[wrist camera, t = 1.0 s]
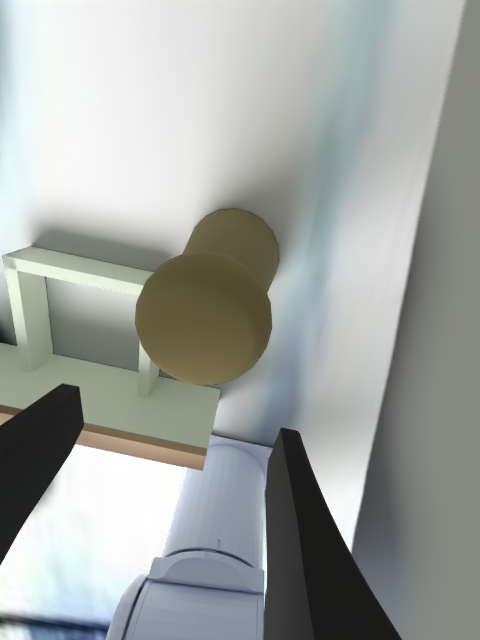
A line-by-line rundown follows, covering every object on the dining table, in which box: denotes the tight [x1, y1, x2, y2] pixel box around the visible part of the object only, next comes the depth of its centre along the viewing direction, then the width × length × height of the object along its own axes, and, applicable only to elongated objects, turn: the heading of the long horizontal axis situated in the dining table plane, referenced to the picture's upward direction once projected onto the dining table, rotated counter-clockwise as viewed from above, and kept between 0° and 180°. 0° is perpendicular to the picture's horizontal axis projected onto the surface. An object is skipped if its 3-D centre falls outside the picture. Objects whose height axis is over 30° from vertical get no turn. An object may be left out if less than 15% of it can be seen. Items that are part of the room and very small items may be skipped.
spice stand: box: [0, 246, 221, 471], centre depth 21 cm, size 10×20×7 cm, turn 79°
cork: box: [135, 208, 279, 385], centre depth 15 cm, size 6×6×11 cm
